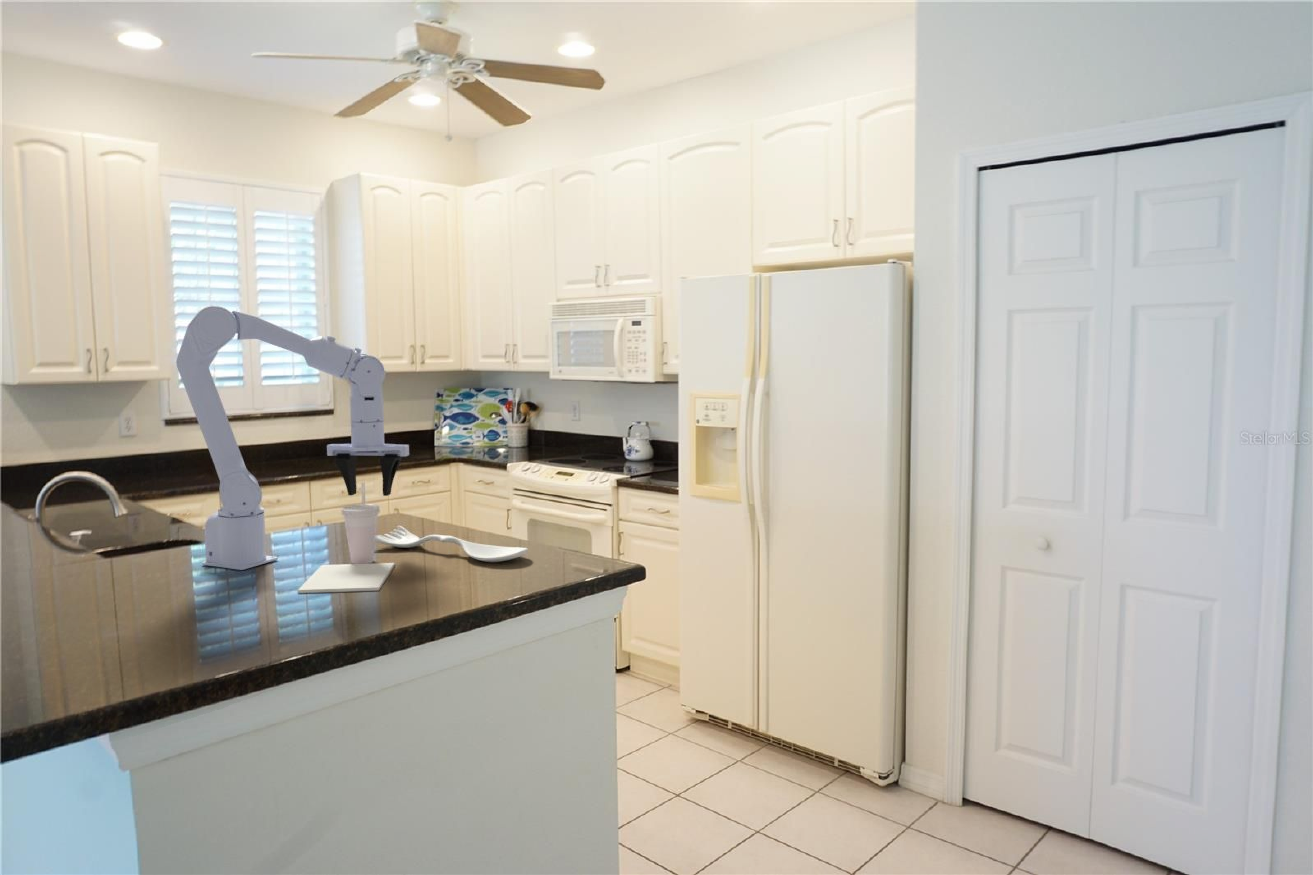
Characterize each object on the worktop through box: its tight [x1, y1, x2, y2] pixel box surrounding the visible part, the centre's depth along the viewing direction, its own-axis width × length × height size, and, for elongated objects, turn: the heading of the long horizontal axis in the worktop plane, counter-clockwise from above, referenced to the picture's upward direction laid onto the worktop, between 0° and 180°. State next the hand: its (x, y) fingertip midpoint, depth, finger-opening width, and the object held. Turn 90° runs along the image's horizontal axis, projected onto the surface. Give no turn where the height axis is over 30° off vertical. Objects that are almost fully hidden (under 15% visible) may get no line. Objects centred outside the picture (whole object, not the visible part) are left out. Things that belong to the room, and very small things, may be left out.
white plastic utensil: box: [375, 525, 529, 563], centre depth 157 cm, size 9×32×3 cm, turn 65°
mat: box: [297, 562, 395, 594], centre depth 140 cm, size 15×12×1 cm
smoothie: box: [340, 482, 381, 564], centre depth 150 cm, size 6×6×14 cm
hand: (369, 494), depth 158 cm, fingers open, 6 cm apart
